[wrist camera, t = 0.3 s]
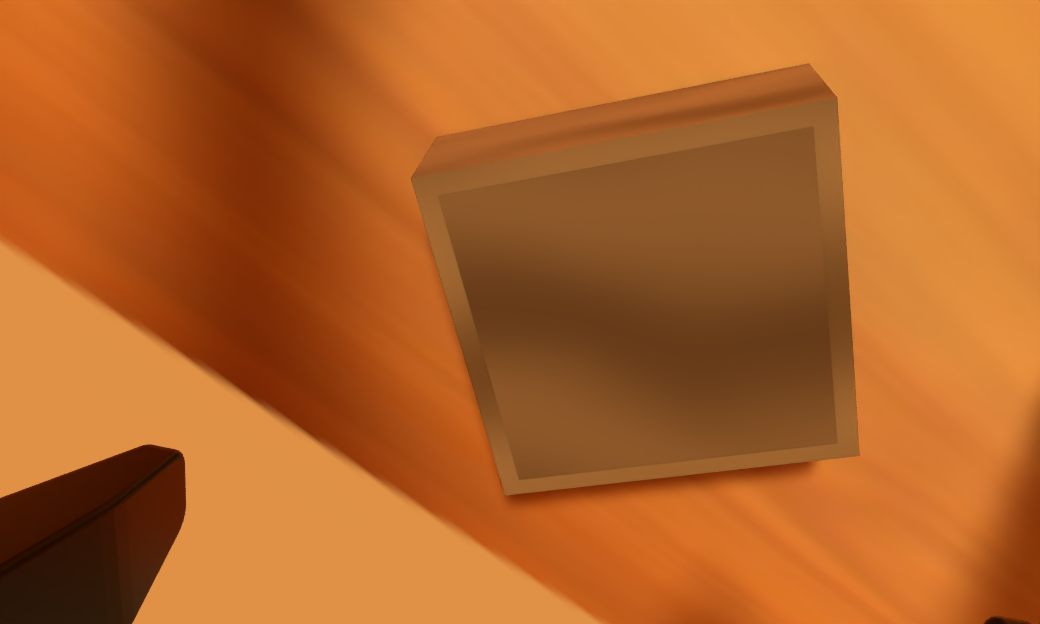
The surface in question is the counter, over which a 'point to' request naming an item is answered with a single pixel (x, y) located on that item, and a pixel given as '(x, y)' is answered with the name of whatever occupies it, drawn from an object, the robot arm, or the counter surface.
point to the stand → (652, 282)
